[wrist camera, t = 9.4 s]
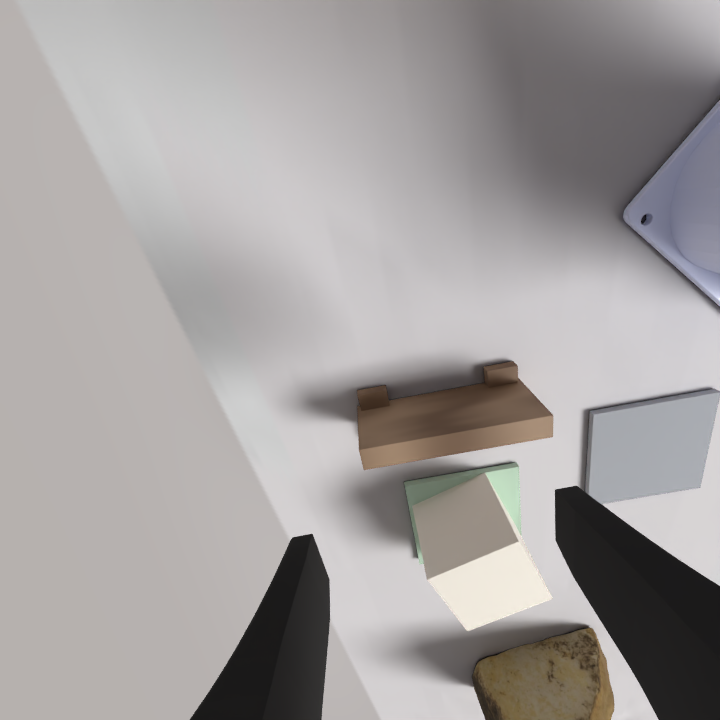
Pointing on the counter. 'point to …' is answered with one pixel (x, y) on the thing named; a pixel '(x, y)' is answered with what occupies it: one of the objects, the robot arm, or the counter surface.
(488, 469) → the green mat
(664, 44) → the counter surface
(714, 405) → the grey mat
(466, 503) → the lettered cube
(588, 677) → the rock
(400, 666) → the counter surface
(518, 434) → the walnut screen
